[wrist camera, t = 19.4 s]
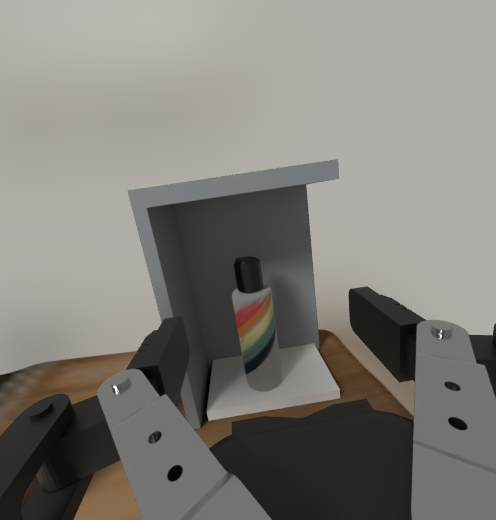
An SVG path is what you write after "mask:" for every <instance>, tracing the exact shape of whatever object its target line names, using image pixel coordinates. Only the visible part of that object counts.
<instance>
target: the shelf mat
mask: <svg viewBox="0 0 496 520" xmlns="http://www.w3.org/2000/svg"><path fill="white" fill-rule="evenodd" d="M279 353H280V361H281V369H282V380H281V383H280V384H279V385H278V386H277V387H276V388H275V389H273V390H270V391H266V392H260V391H256V390H254V389H252V388H251V387H250V386H249V385H248V382H247V379H246V374H245V369H244V363H243V357H242V355H240V356H234V357H228V358H222V359H216V360H213V363H212V372H211V380H210V388H209V396H208V405H207V416H208V421H210V420H216V419H222V418H228V417H234V416H240V415H246V414H251V413H257V412H263V411H269V410H275V409H281V408H287V407H292V406H298V405H304V404H310V403H316V402H322V401H327V400H333V399H339V398H340V389H339V387H338V386H337V384H336V382H335V380H334V378H333V377H332V375H331V373H330V371H329V369H328V368H327V366H326V364H325V362H324V360H323V359H322V357H321V355H320V353H319V351H318V350H317V348H316V346H315V344H314V343H313V344H307V345H301V346H295V347H289V348H283V349H279Z"/></svg>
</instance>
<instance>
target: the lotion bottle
mask: <svg viewBox="0 0 496 520" xmlns="http://www.w3.org/2000/svg"><path fill="white" fill-rule="evenodd" d="M233 266H234V272H235V277H236V283H237V289H235V290H234V291H233V293H232V300H233V306H234V312H235V317H236V323H237V329H238V334H239V340H240V346H241V352H242V357H243V363H244V369H245V374H246V379H247V382H248V385H249V386H250V387H251V388H252V389H254V390H256V391H260V392H266V391H270V390H273V389H275V388H276V387H277V386H278V385H279V384H280V383H281V380H282V369H281V361H280V353H279V346H278V338H277V331H276V323H275V315H274V308H273V300H272V293H271V289H270V287H269V286H267V285H265V284H263V277H262V269H261V262H260V259H258V258H255V257H249V256H248V257H240V258H236V259H235V262H234V264H233Z"/></svg>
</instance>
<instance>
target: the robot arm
mask: <svg viewBox="0 0 496 520" xmlns="http://www.w3.org/2000/svg"><path fill="white" fill-rule="evenodd" d="M349 313H350V323H351V327H352V329H353V331H354V332H355V333H356V335H357V336H358V337H359V338H360V339H361V340H362V341H363V342H364V343H365V345H366V346H367V347H368V348H369V349H370V350H371V351H372V352H373V354H374V355H375V356H376V357H377V358H378V359H379V360H380V361H381V362H382V364H384V366H385V367H386V368H387V369H388V370H389V371H390V372H391V373H392V375H393V376H394V377H395V378H396V379H397V380H398V381H399V382H403V381H410V380H413V381H414V382H415V400H414V402H415V403H414V421H412V420H410V419H408V418H405V417H402V416H399V415H397V414H393V413H389V412H383V411H375V410H373V408H372V407H371V405H370V404H369V402H368V401H367V399H364V400H358V401H352V402H346V403H340V404H335V405H332V406H329V407H327V408H325V409H323V410H320V411H318V412H316V413H314V414H311V415H309V416H307V417H304V418H284V417H267V416H264V417H259V418H253V419H247V420H241V421H235V422H232V435H230V436H228V437H226V438H224V439H222V440H221V441H219V442H218V443H216V444H215V445H213V446H212V447H211V448H210V449H208V448H207V446H206V445H205V444H204V442H203V441H202V440H201V438H200V437H199V436H198V435H197V433H196V432H195V431H194V429H193V428H192V427H191V426H190V424H189V423H188V422H187V420H186V419H185V418H184V417H183V415H182V414H181V413H180V411H179V410H178V409H177V404H178V400H179V396H180V393H181V389H182V385H183V381H184V377H185V374H186V370H187V366H188V362H189V358H190V349H189V343H188V339H187V335H186V330H185V326H184V322H183V319H182V317H181V316H177V317H171V318H165V319H164V320H163V322H162V324H161V326H160V327H159V329H158V330H156V331H153V332H152V333H151V334H149V335H148V336H147V337H146V338H145V339H144V341H143V343H142V344H141V346H140V347H139V349H138V351H137V353H136V354H135V356H134V357H133V359H132V360H131V362H130V364H129V365H128V367H127V369H126V370H124V371H122V372H119V373H117V374H115V375H113V376H111V377H110V378H109V379H107V380H106V381H105V382H104V383H103V384H102V385H101V386H100V388H99V389H98V392H97V396H94V397H92V398H89V399H86V400H84V401H81V402H78V403H76V404H73V405H72V404H71V401H70V399H69V397H68V395H65V394H57V395H53V396H50V397H47V398H45V399H42V400H40V401H38V402H37V403H35V404H33V405H32V406H30V407H29V408H27V409H26V410H25V411H24V412H22V413H21V414H20V415H19V416H18V417H17V418H16V419H15V420H14V422H13V423H12V424H11V425H10V426H9V427H8V428H7V429H6V430H5V431H4V433H3V434H2V435H1V436H0V520H73V519H74V517H75V515H76V512H77V510H78V508H79V506H80V504H81V501H82V499H83V497H84V495H85V492H86V490H87V488H88V486H89V483H90V481H91V479H92V477H93V474H94V472H96V471H98V470H100V469H102V468H105V467H107V466H109V465H111V464H113V463H115V462H117V461H119V460H121V462H122V465H123V467H124V470H125V473H126V476H127V478H128V481H129V484H130V487H131V489H132V492H133V495H134V498H135V500H136V503H137V506H138V509H139V511H140V514H141V517H142V520H496V324H495V325H494V331H493V335H468V333H467V331H466V330H465V329H463V328H462V327H460V326H458V325H456V324H453V323H449V322H446V321H440V320H425V319H423V318H422V317H420V316H419V315H417V314H416V313H414V312H412V311H411V310H409V309H407V308H406V307H405V306H403V305H400V303H398V302H397V301H395V300H393V299H392V298H389V297H386V296H383V295H379V294H378V293H376V292H375V291H373V290H372V289H370V288H369V287H360V288H354V289H350V290H349ZM35 476H36V477H37V479H38V481H39V482H38V483H37V485H36V486H35V488H34V490H33V491H32V493H31V494H30V496H29V498H28V499H27V501H26V502H25V504H24V506H23V507H22V509H21V503H22V499H23V496H24V494H25V492H26V490H27V488H28V486H29V485H30V483H31V482H32V480H33V479H34V477H35Z"/></svg>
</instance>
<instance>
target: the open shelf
mask: <svg viewBox="0 0 496 520" xmlns="http://www.w3.org/2000/svg"><path fill="white" fill-rule="evenodd" d="M334 179H339V169H338V160H337V159H336V160H330V161H323V162H316V163H309V164H303V165H297V166H290V167H283V168H276V169H269V170H263V171H257V172H250V173H243V174H236V175H229V176H223V177H216V178H210V179H203V180H196V181H189V182H182V183H176V184H169V185H163V186H156V187H149V188H142V189H135V190H129V191H128V194H129V198H130V202H131V206H132V210H133V213H134V217H135V221H136V225H137V229H138V232H139V237H140V241H141V244H142V248H143V252H144V256H145V260H146V264H147V267H148V271H149V275H150V279H151V283H152V287H153V291H154V294H155V298H156V302H157V306H158V310H159V313H160V317H161V321H162V322H163V320H164V319H165V318H171V317H177V316H181V317H182V319H183V322H184V326H185V330H186V335H187V339H188V343H189V349H190V358H189V362H188V366H187V370H186V374H185V377H184V381H183V385H182V389H181V393H180V394H181V398H182V402H183V406H184V410H185V414H186V417H187V421H188V423H189V424H190V426H191V427H192V428H193V429H200V428H201V422H202V415H203V408H204V401H205V393H206V386H207V379H208V372H209V368H211V367H212V363H213V360H216V359H222V358H228V357H234V356H240V355H242V352H241V346H240V340H239V334H238V329H237V323H236V317H235V312H234V306H233V300H232V293H233V291H234V290H235V289H237V283H236V277H235V272H234V266H233V264H234V262H235V259H236V258H240V257H248V256H249V257H255V258H258V259H260V262H261V269H262V277H263V284H265V285H267V286H269V287H270V289H271V293H272V300H273V308H274V315H275V323H276V331H277V338H278V346H279V349H283V348H289V347H295V346H301V345H307V344H313V343H314V344H315V346H316V348H317V350H319V349H320V346H319V334H318V322H317V310H316V297H315V286H314V274H313V262H312V249H311V239H310V226H309V214H308V202H307V189H306V184H310V183H316V182H323V181H329V180H334Z"/></svg>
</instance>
